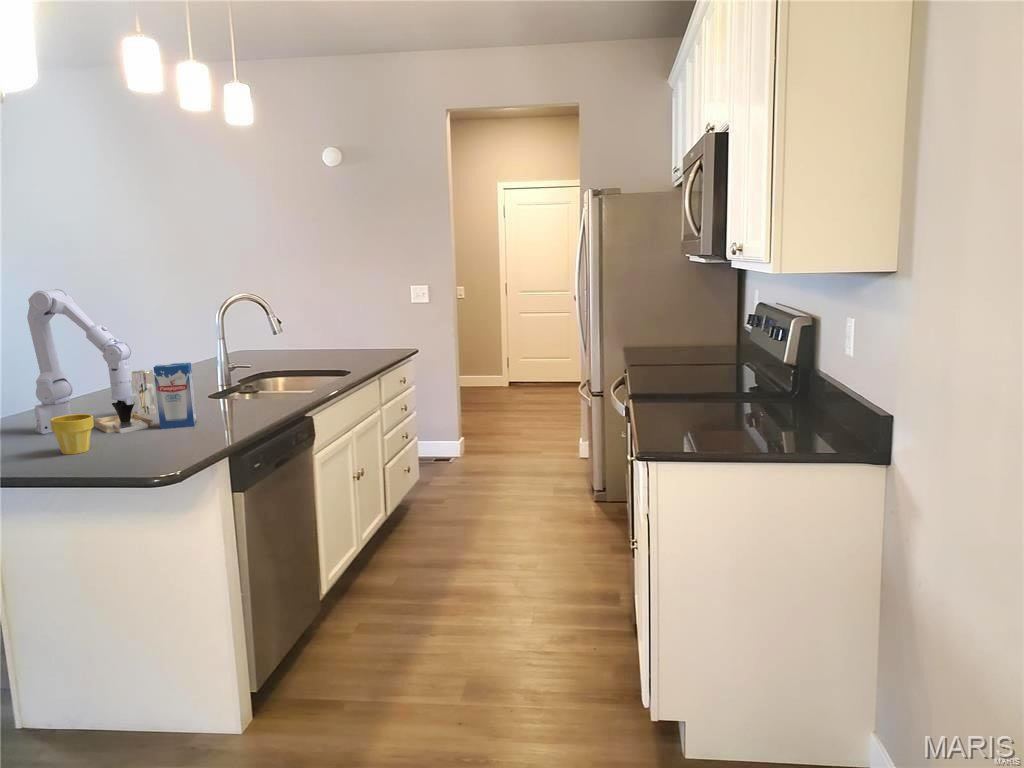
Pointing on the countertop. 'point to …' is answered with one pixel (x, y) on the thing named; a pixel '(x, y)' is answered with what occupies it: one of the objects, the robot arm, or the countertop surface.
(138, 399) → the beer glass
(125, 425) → the cover plate
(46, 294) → the robot arm
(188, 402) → the milk carton
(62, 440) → the plant pot
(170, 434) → the countertop surface
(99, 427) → the tray
